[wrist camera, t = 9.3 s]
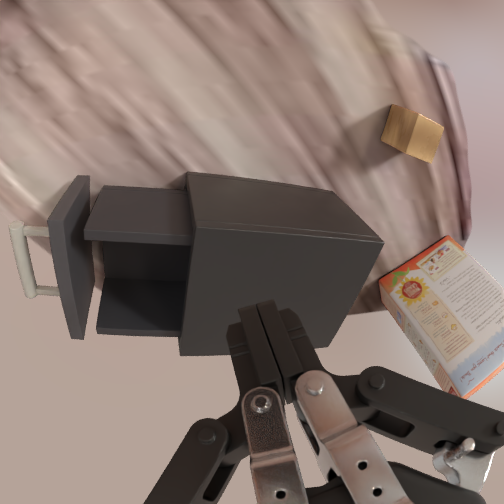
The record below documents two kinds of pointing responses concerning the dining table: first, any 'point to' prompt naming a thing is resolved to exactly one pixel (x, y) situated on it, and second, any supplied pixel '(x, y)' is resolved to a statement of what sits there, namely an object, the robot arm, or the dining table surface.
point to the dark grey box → (270, 257)
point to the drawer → (115, 258)
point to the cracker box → (449, 315)
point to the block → (412, 133)
